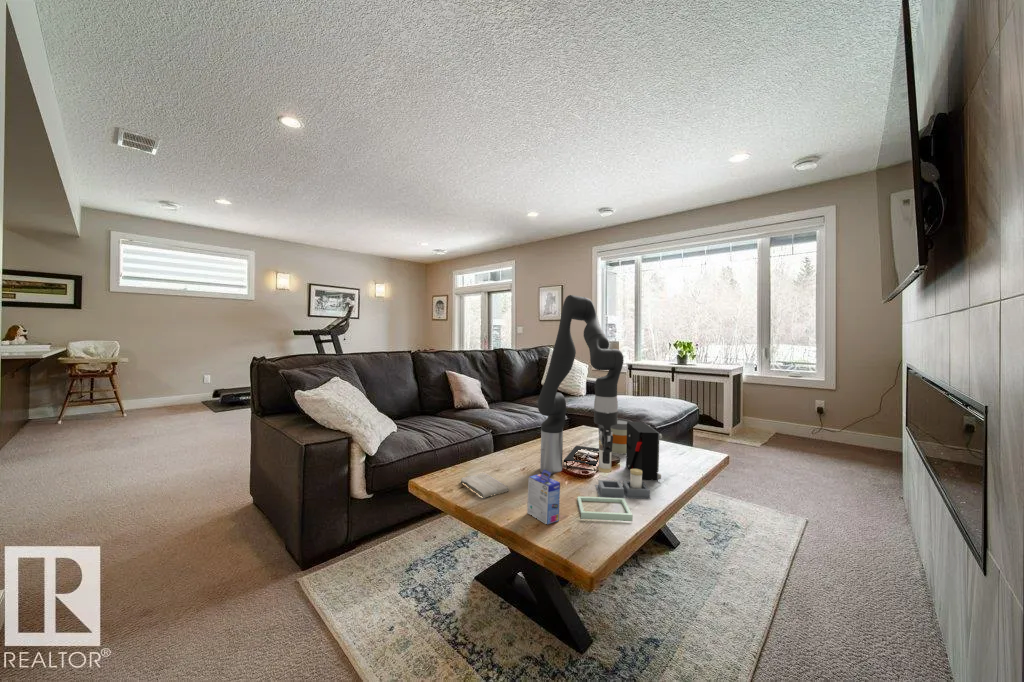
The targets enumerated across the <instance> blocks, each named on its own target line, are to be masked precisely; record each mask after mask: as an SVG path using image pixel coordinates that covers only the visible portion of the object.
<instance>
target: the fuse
mask: <svg viewBox="0 0 1024 682" xmlns="http://www.w3.org/2000/svg"><path fill="white" fill-rule="evenodd" d="M603 442H604V441H603ZM606 448H609V446H606ZM598 449H599V466H598V468H597V469H598V471H599V472H601V473H605V474H606V473H607V474H608V473H612V453H613V452H610V463H609V464H604V463H603V462H602V460H603V451H602V444H601V439H599V438H598Z"/></svg>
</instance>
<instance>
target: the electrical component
mask: <svg viewBox="0 0 1024 682" xmlns="http://www.w3.org/2000/svg"><path fill="white" fill-rule="evenodd" d="M662 439H663V434H662V433H659V431H657V430H656V429H655V428H653V427H652V426H651V425H650V424H647V423H646V422H643V421H632V422H627V446H626V454H625V455H626V456H625V468H627V471H629V472H630V469H640V470H642V481H654V482H655V481H656V482H657V483H659V480H661V479H662V474H661V473H660V472H659V470H660V469H659V466H660V464H659V463H660V440H662Z"/></svg>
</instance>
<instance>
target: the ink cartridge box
mask: <svg viewBox="0 0 1024 682" xmlns="http://www.w3.org/2000/svg"><path fill="white" fill-rule="evenodd" d="M546 473H547V475H545V474H546ZM551 475H552V474H551V472H548V471H546V470H543V472H542V473H538V474H534V475H530V476H528V485H527V490H528V491H527V507H526V509H527V510H526V513H527V514H528V515H530V516H531V515H532V517H533V518H535V519H536V518H537V519H536V520H537V521H540V522H541V523H543V524H545V525H546V524H547V525H550V524H553V523H557V522H559V521H560V496H561V494H560V493H561V491H560V490H561V482H560V481H558V480H556V479H553V478H550V477H551Z"/></svg>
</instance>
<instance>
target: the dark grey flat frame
mask: <svg viewBox="0 0 1024 682" xmlns="http://www.w3.org/2000/svg"><path fill="white" fill-rule="evenodd" d="M581 449H587V450H593V451H599V447H598V448H596V447H589V446H584V445H575V446H574V447H573V449H572V450H571V451H570V452H569V453H568V454H567V455H566V457H565V458H564V459H563V463H564V462H566V461H575V462H580V463H586V464H589V465H593V466H596V464H597V462H598V460H597V461H590V462H585V461H581V460H574V458H573V457H574V455H575V453H576V452H577V451H578V450H581Z"/></svg>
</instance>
